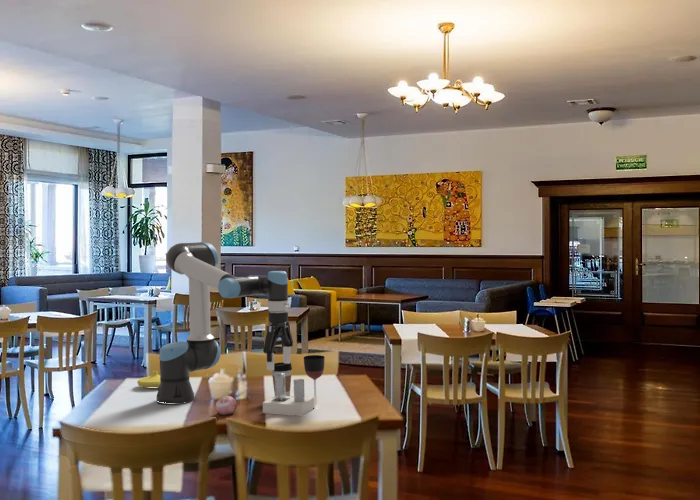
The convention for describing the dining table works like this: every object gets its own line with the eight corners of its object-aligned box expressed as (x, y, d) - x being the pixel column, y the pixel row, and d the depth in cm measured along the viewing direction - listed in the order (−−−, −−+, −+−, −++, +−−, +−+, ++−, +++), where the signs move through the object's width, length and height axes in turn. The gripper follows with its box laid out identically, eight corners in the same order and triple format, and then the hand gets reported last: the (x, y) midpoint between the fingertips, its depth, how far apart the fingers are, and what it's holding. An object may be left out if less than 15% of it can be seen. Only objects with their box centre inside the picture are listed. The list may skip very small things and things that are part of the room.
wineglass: (310, 412, 267) (309, 359, 266) (301, 407, 275) (300, 356, 274) (329, 409, 271) (328, 357, 270) (320, 404, 278) (318, 354, 278)
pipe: (273, 410, 269) (272, 374, 268) (278, 408, 272) (277, 372, 272) (283, 411, 267) (282, 375, 267) (287, 409, 271) (286, 373, 271)
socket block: (262, 413, 266) (262, 381, 266) (277, 405, 277) (276, 375, 277) (301, 416, 260) (300, 383, 260) (314, 408, 271) (313, 377, 271)
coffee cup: (289, 402, 282) (288, 365, 281) (269, 401, 283) (268, 364, 283) (295, 397, 290) (294, 361, 289) (275, 397, 291) (274, 361, 291)
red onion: (221, 419, 261) (214, 402, 261) (217, 417, 268) (210, 399, 268) (241, 410, 264) (234, 392, 264) (236, 407, 271) (229, 390, 271)
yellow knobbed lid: (158, 382, 328) (157, 367, 328) (180, 385, 319) (180, 370, 319) (129, 388, 315) (129, 372, 315) (152, 392, 306) (152, 376, 306)
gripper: (271, 316, 256) (272, 373, 257) (301, 308, 279) (301, 361, 280) (253, 315, 259) (254, 372, 259) (284, 307, 282) (284, 360, 283)
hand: (278, 366), depth 270 cm, fingers open, 13 cm apart
